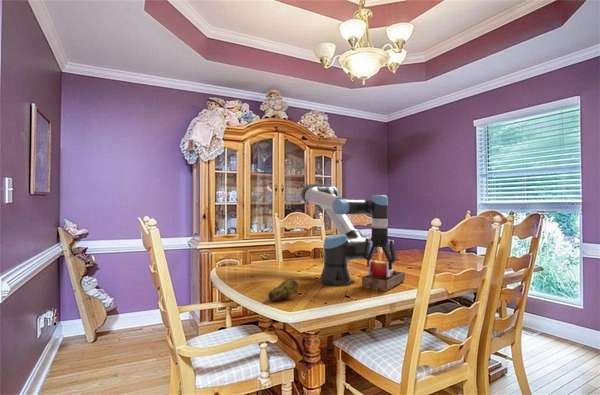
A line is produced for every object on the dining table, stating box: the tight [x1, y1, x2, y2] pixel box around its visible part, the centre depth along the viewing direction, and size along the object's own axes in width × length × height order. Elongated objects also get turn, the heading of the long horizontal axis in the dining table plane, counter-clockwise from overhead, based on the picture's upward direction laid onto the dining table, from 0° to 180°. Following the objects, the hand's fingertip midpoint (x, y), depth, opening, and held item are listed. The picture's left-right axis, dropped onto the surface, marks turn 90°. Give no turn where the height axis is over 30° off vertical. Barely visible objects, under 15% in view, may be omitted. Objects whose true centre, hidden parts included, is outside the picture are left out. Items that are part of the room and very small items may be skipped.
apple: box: [370, 255, 388, 277], centre depth 154 cm, size 8×8×10 cm
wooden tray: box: [361, 270, 406, 292], centre depth 159 cm, size 12×23×5 cm, turn 143°
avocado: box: [268, 278, 299, 302], centre depth 133 cm, size 8×13×8 cm, turn 103°
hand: (379, 275), depth 154 cm, fingers closed on apple, 8 cm apart
